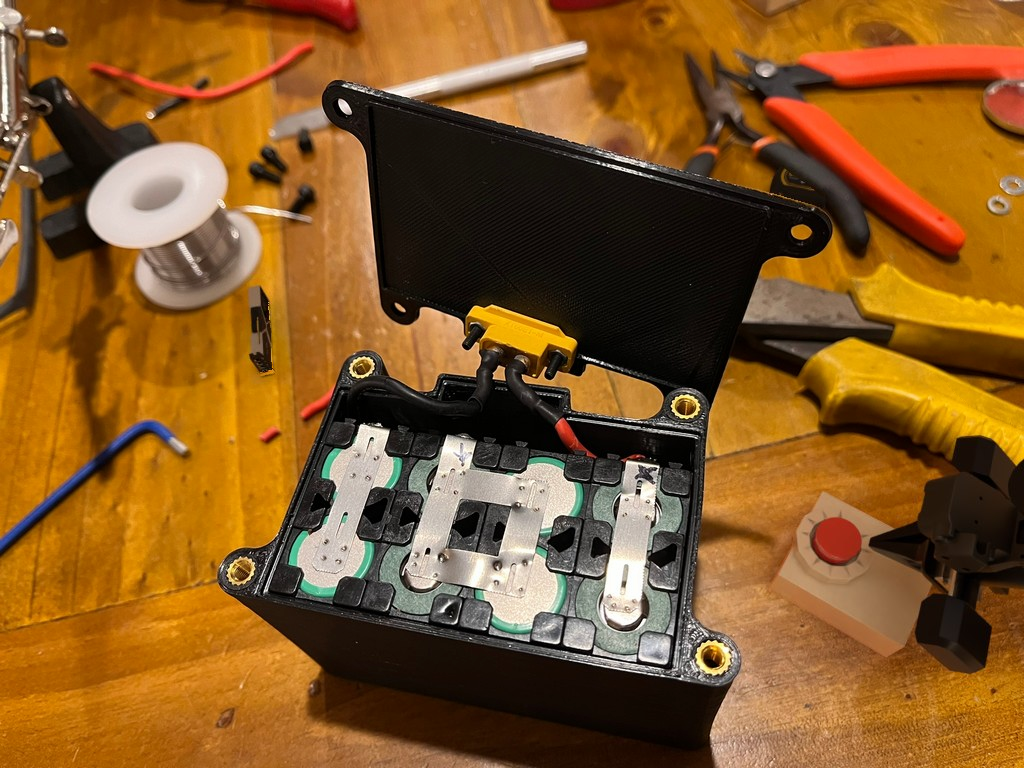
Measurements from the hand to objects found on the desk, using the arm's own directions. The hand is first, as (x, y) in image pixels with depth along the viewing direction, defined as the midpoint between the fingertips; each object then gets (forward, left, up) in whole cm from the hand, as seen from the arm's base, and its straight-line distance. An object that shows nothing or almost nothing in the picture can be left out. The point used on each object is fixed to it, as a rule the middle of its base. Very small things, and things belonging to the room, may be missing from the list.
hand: (871, 544), depth 69 cm
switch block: (0, 0, -9) cm, 9 cm away
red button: (+3, 0, -3) cm, 4 cm away
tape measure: (+25, -43, -10) cm, 50 cm away
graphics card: (+73, +10, -10) cm, 74 cm away
